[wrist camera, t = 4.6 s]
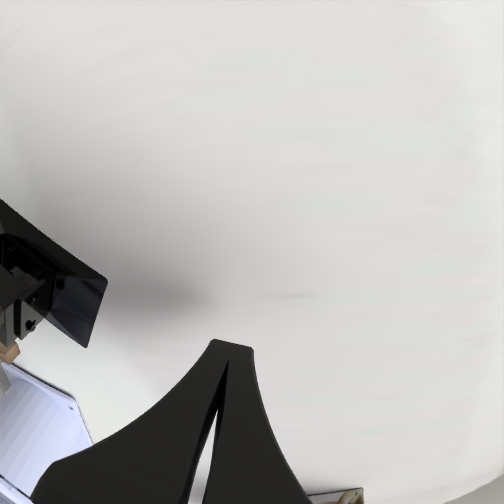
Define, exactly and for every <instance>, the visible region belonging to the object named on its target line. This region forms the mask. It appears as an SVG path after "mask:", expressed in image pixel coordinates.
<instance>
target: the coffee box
mask: <svg viewBox="0 0 504 504" xmlns="http://www.w3.org/2000/svg"><path fill="white" fill-rule="evenodd" d="M308 497H309V498H310V500H311V501H312V503H313V504H364V489H363V488H359V489H354V490H348V491H342V492H336V493H329V494H322V495H314V496H308Z"/></svg>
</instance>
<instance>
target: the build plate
mask: <svg viewBox="0 0 504 504" xmlns="http://www.w3.org/2000/svg"><path fill="white" fill-rule="evenodd" d="M107 284H108V281H107V279H106V278H105V277H104V276H102V275H101V274H99V273H98V272H96V271H95V270H93V269H92V268H90V267H89V266H87V265H86V264H85V263H83V262H82V261H80V260H79V259H77V258H76V257H75V256H73V255H72V254H70V253H69V252H68V251H66V250H65V249H63V248H62V247H61V246H59V245H58V244H57V243H55V242H54V241H53V240H51V239H50V238H49V237H47V236H46V235H45V234H43V233H42V232H41V231H40V230H38V229H37V228H36V227H34V226H33V225H32V224H31V223H29V222H28V221H27V220H26V219H24V218H23V217H22V216H21V215H19V214H18V213H17V212H16V211H15V210H13V209H12V208H11V207H10V206H9V205H7V204H6V203H5V202H4V201H3V200H2V199H0V342H1V343H2V344H3V345H4V346H5V347H8V346H9V345H10V344H11V343H12V342H13V341H14V340H15V339H16V338H17V337H18V338H19V339H20V340H23V339H24V338H25V336H26V335H27V334H28V333H29V332H33V331H34V330H35V328H36V325H37V324H38V323H39V322H40V321H41V320H42V319H43V318H45V319H46V320H48V321H49V322H50V323H51V324H53V325H54V326H55V327H57V328H58V329H59V330H61V331H62V332H63V333H65V334H66V335H67V336H69V337H70V338H71V339H73V340H74V341H76V342H77V343H78V344H80V345H81V346H83V347H84V348H87V346H88V343H89V340H90V336H91V333H92V329H93V326H94V323H95V320H96V316H97V313H98V310H99V307H100V304H101V301H102V298H103V295H104V292H105V290H106V287H107Z"/></svg>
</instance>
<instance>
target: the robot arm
mask: <svg viewBox="0 0 504 504" xmlns="http://www.w3.org/2000/svg"><path fill="white" fill-rule="evenodd" d="M1 365H2V367H3V370H4V372H5V374H6V376H7V378H8V380H9V382H10V384H11V386H10V387H9V388H8V390H7V391H6V392H5V393H4V395H3V396H2V397H1V399H0V504H188V500H189V496H190V492H191V488H192V485H193V481H194V477H195V473H196V469H197V466H198V462H199V459H200V456H201V454H202V451H203V448H204V446H205V443H206V440H207V437H208V435H209V432H210V429H211V426H212V424H213V421H214V418H215V415H216V412H217V410H218V412H217V420H216V427H215V435H214V443H213V451H212V459H211V465H210V471H209V476H208V480H207V484H206V489H205V493H204V497H203V501H202V504H313V503H312V501H311V500H310V498H309V497H308V496H307V494H306V493H305V491H304V490H303V488H302V487H301V485H300V483H299V482H298V480H297V479H296V477H295V475H294V474H293V472H292V470H291V469H290V467H289V465H288V463H287V461H286V459H285V457H284V455H283V453H282V451H281V449H280V447H279V445H278V443H277V441H276V438H275V436H274V434H273V431H272V429H271V426H270V423H269V420H268V417H267V415H266V412H265V408H264V405H263V402H262V398H261V394H260V390H259V387H258V382H257V377H256V371H255V365H254V350H253V349H252V348H251V347H248V346H244V345H239V344H235V343H230V342H226V341H222V340H218V339H213V340H211V341H210V343H209V345H208V347H207V348H206V350H205V351H204V353H203V354H202V355H201V357H200V358H199V359H198V361H197V362H196V363H195V364H194V366H193V367H192V368H191V369H190V370H189V371H188V372H187V374H186V375H185V376H184V377H183V378H182V379H181V380H180V381H179V382H178V383H177V384H176V385H175V386H174V387H173V388H172V389H171V390H170V391H169V392H168V393H167V394H166V395H165V396H164V397H163V398H162V399H161V400H160V401H158V402H157V403H156V404H155V405H154V406H152V407H151V408H150V409H149V410H147V411H146V412H145V413H144V414H142V415H141V416H140V417H138V418H137V419H135V420H134V421H133V422H131V423H130V424H128V425H127V426H125V427H124V428H122V429H121V430H119V431H118V432H116V433H114V434H113V435H111V436H109V437H107V438H105V439H103V440H102V441H100V442H98V443H96V444H94V445H93V444H92V441H91V439H90V437H89V434H88V432H87V430H86V427H85V425H84V422H83V420H82V417H81V415H80V412H79V409H78V407H77V404H76V402H75V400H74V399H73V398H71V397H69V396H67V395H65V394H63V393H61V392H59V391H57V390H56V389H54V388H52V387H50V386H48V385H46V384H44V383H42V382H41V381H39V380H37V379H35V378H33V377H32V376H30V375H28V374H27V373H25V372H23V371H21V370H20V369H18V368H17V367H15V366H13V365H12V364H10V365H8V364H7V363H5V362H4V361H2V362H1Z"/></svg>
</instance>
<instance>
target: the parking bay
mask: <svg viewBox="0 0 504 504" xmlns="http://www.w3.org/2000/svg"><path fill="white" fill-rule="evenodd" d="M19 354H20V352H19V349H18V346H17V343H15V342H14V341H13V342H12V343H11V344H10V345H9V346H8V347H5V346H4V345H3V344H2V343H1V342H0V360H2V361H4V362H5V363H7V364H8V365H10V364H11V363H12V361H13V360H14V359H15V358H16V357H17V356H18V355H19Z"/></svg>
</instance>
